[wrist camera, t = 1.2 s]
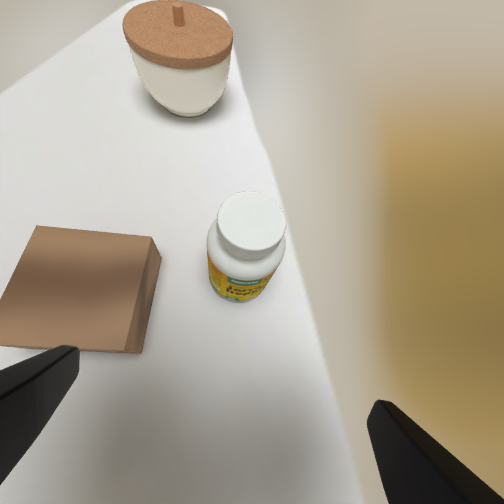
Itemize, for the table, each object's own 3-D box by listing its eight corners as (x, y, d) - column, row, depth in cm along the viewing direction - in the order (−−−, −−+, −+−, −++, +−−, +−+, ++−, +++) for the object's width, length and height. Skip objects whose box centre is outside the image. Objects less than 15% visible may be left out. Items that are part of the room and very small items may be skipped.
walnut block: (140, 353, 19) (123, 350, 15) (26, 348, 18) (-21, 343, 14) (161, 257, 22) (151, 236, 18) (66, 249, 21) (36, 225, 18)
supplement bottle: (254, 242, 24) (277, 173, 16) (275, 292, 22) (315, 245, 14) (201, 257, 23) (193, 190, 14) (219, 312, 21) (223, 274, 12)
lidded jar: (157, 68, 33) (137, -33, 25) (234, 85, 34) (241, -7, 26) (130, 119, 29) (96, 17, 20) (221, 138, 29) (224, 47, 21)
